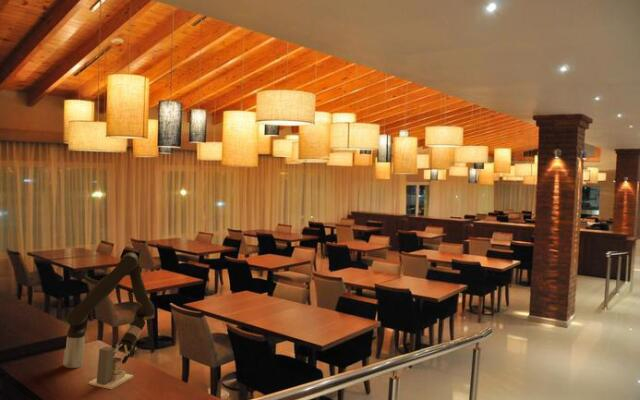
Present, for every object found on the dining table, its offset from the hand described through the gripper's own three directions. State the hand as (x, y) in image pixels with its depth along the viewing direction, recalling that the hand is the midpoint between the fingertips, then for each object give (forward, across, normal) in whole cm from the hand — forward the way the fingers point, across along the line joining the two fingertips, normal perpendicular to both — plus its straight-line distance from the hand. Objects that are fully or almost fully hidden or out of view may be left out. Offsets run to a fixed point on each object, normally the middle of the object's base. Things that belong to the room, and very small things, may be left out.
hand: (116, 361), depth 264 cm
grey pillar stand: (+9, 0, +5) cm, 10 cm away
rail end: (+6, 0, +5) cm, 8 cm away
